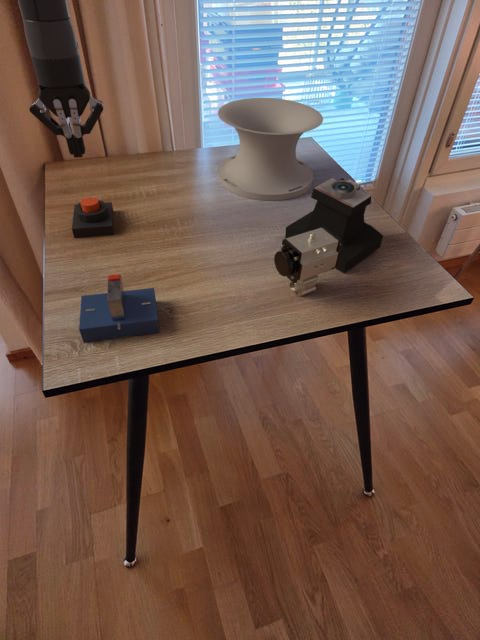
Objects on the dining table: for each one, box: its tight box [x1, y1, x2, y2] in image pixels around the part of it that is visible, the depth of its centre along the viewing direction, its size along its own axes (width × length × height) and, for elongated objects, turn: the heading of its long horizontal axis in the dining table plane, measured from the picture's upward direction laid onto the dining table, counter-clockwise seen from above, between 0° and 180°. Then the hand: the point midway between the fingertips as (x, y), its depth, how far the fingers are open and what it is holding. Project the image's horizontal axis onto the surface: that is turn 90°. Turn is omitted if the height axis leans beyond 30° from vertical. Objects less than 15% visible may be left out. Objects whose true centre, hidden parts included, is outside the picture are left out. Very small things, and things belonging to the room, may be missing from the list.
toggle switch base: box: [78, 287, 161, 343], centre depth 69 cm, size 12×10×3 cm
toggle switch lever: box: [107, 274, 125, 320], centre depth 66 cm, size 6×2×4 cm, turn 12°
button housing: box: [71, 199, 115, 239], centre depth 89 cm, size 8×10×4 cm
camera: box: [284, 177, 384, 274], centre depth 84 cm, size 16×14×15 cm
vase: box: [217, 97, 324, 202], centre depth 104 cm, size 25×25×16 cm
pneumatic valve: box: [273, 227, 343, 297], centre depth 73 cm, size 6×12×12 cm, turn 120°
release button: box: [80, 196, 100, 212], centre depth 87 cm, size 4×4×2 cm
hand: (78, 155), depth 80 cm, fingers closed
